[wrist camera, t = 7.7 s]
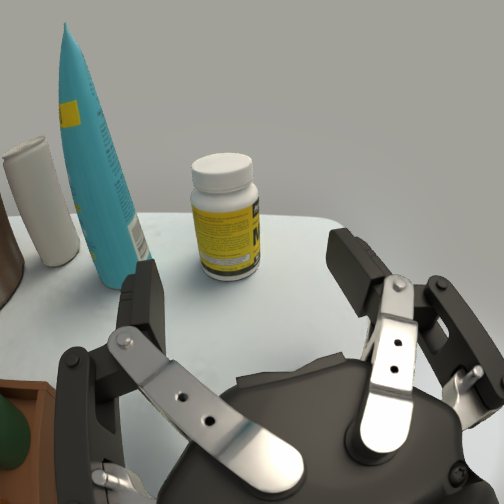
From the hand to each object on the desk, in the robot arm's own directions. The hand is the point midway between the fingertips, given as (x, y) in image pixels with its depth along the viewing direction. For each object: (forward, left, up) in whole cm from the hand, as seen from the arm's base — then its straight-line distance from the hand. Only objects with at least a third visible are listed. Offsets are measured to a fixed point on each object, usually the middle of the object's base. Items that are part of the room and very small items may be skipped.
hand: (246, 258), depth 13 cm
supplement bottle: (+8, -3, -7) cm, 11 cm away
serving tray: (-6, +20, -7) cm, 22 cm away
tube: (+12, +5, -7) cm, 14 cm away
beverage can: (+19, +11, -7) cm, 23 cm away
